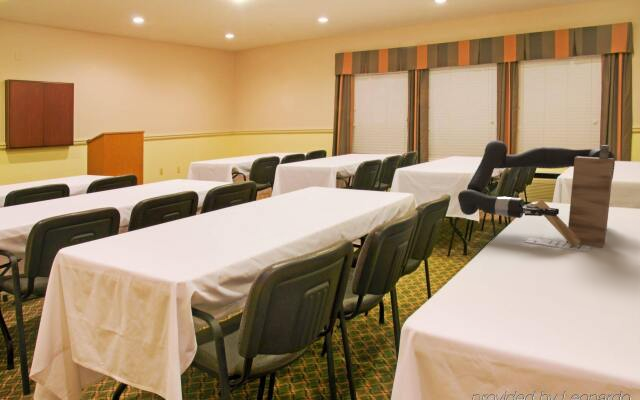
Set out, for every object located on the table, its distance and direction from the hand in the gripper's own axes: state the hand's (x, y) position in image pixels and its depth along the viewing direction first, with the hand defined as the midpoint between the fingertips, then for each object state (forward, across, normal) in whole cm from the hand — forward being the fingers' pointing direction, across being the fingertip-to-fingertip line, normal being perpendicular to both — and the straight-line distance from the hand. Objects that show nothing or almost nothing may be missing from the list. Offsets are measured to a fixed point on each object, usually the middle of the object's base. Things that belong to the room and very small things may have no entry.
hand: (557, 212), depth 188 cm
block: (-1, 0, -5) cm, 5 cm away
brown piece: (+9, -9, -12) cm, 17 cm away
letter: (+1, 0, -12) cm, 12 cm away
